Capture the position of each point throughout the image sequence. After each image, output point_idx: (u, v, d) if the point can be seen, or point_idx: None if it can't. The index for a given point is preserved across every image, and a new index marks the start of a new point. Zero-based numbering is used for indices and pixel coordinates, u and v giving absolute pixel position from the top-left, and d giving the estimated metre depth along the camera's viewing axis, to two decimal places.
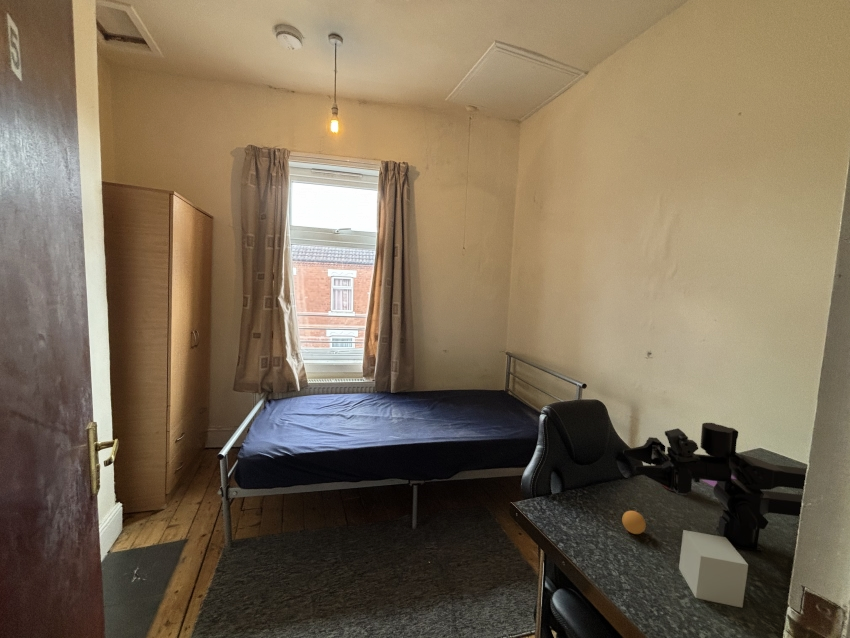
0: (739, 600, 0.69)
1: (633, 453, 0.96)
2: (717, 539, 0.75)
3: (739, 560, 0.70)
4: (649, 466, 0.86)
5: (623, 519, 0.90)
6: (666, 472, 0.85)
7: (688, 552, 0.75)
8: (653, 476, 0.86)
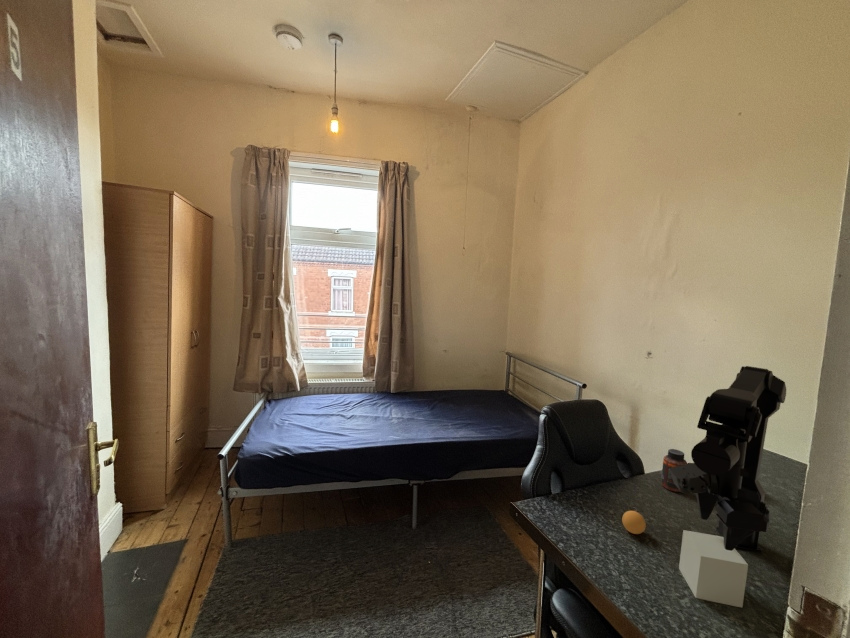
0: (739, 600, 0.69)
1: (706, 508, 0.77)
2: (717, 539, 0.75)
3: (739, 560, 0.70)
4: (725, 537, 0.68)
5: (623, 519, 0.90)
6: None
7: (688, 552, 0.75)
8: (740, 537, 0.67)
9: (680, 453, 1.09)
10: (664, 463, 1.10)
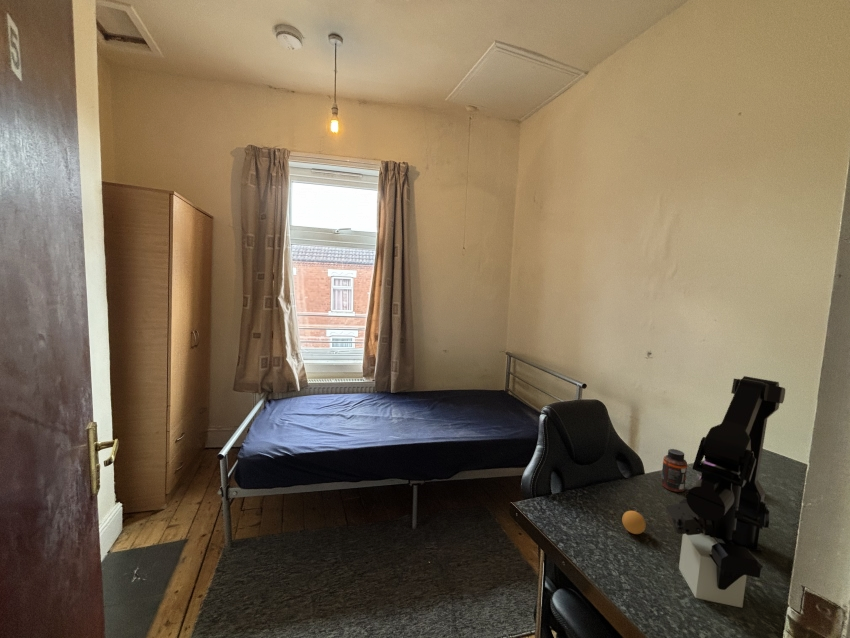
0: (739, 600, 0.69)
1: None
2: None
3: None
4: (718, 577, 0.69)
5: (623, 519, 0.90)
6: None
7: (688, 552, 0.75)
8: (733, 577, 0.68)
9: (680, 453, 1.09)
10: (664, 463, 1.10)
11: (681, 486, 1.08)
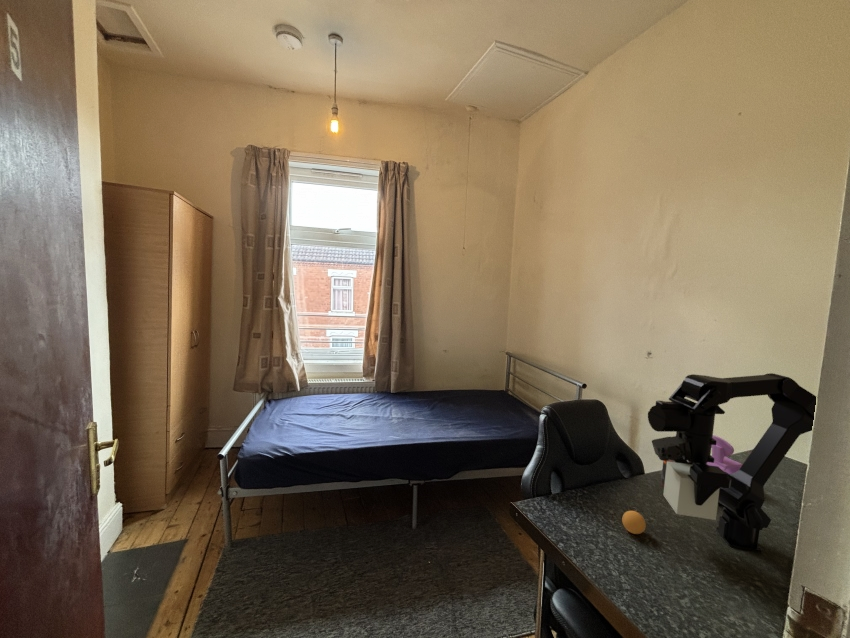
0: (713, 514, 0.82)
1: None
2: None
3: None
4: (696, 494, 0.81)
5: (623, 519, 0.90)
6: None
7: (670, 478, 0.87)
8: (708, 493, 0.80)
9: None
10: (664, 463, 1.10)
11: None
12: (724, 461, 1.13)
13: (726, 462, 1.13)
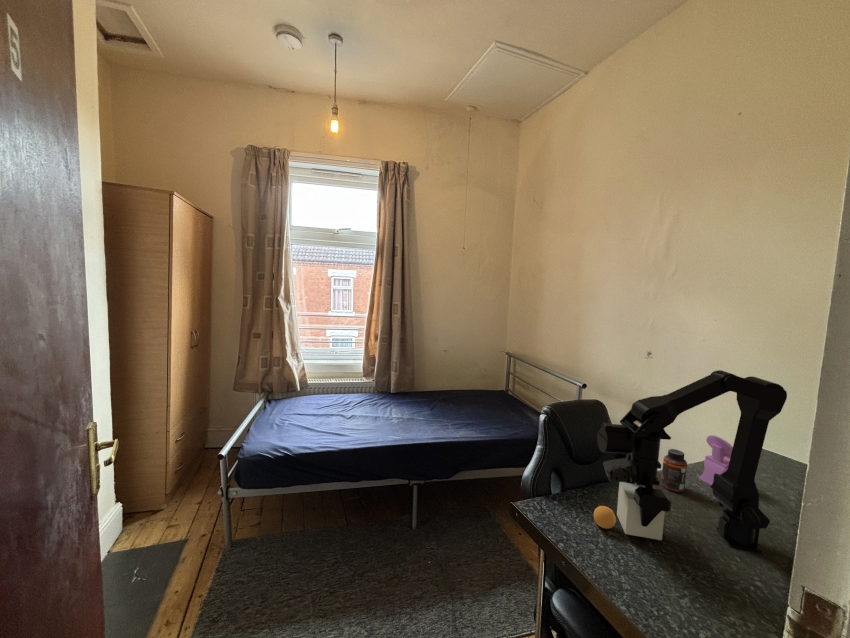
0: (659, 534, 0.85)
1: None
2: None
3: None
4: (641, 515, 0.85)
5: None
6: None
7: (621, 498, 0.91)
8: (652, 515, 0.84)
9: (680, 453, 1.09)
10: (664, 463, 1.10)
11: (681, 486, 1.08)
12: (724, 461, 1.13)
13: (726, 462, 1.13)
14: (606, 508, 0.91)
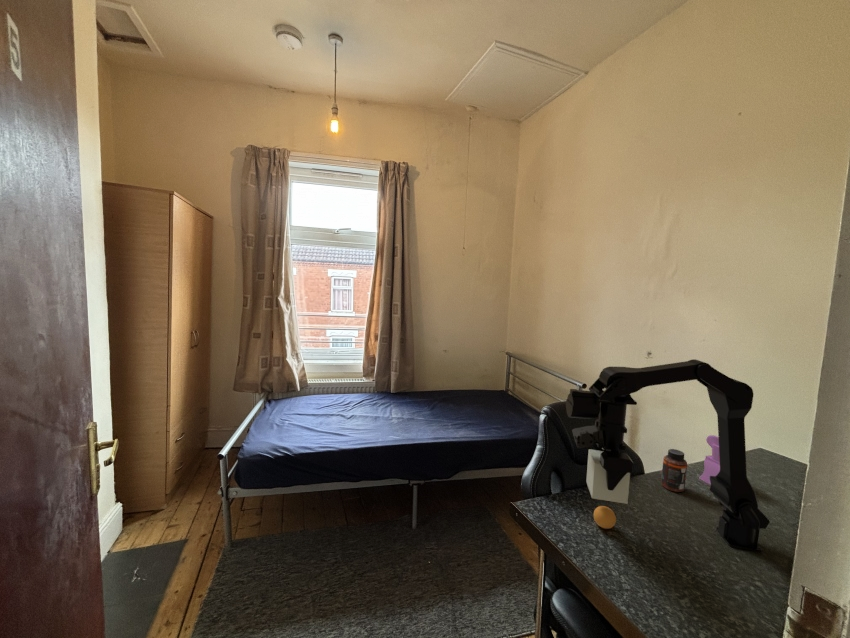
0: (625, 498, 0.86)
1: None
2: None
3: None
4: (607, 479, 0.86)
5: None
6: None
7: (590, 465, 0.92)
8: (617, 478, 0.85)
9: (680, 453, 1.09)
10: (664, 463, 1.10)
11: (681, 486, 1.08)
12: None
13: None
14: (606, 508, 0.91)
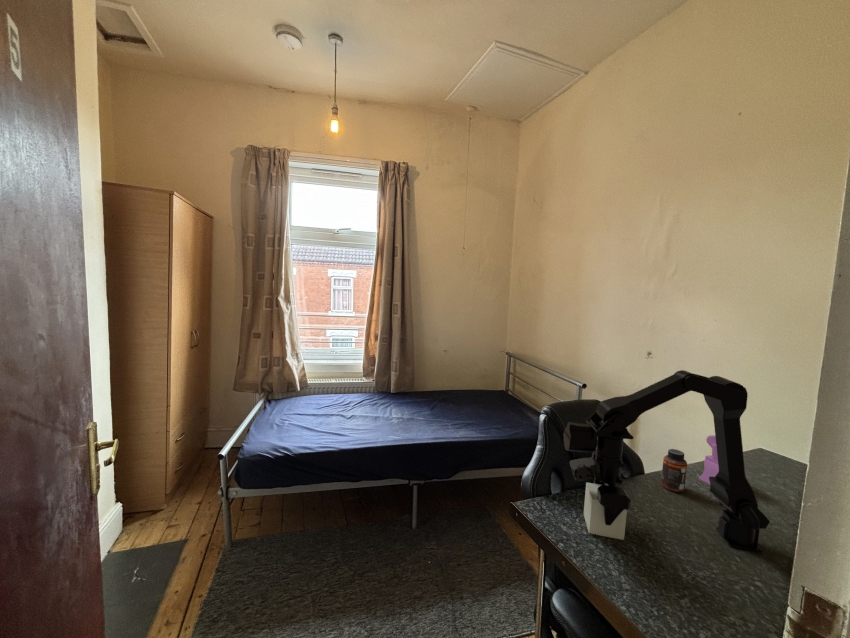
0: (621, 534, 0.87)
1: None
2: None
3: None
4: (604, 514, 0.86)
5: None
6: None
7: (587, 499, 0.93)
8: (614, 514, 0.85)
9: (680, 453, 1.09)
10: (664, 463, 1.10)
11: (681, 486, 1.08)
12: None
13: None
14: None
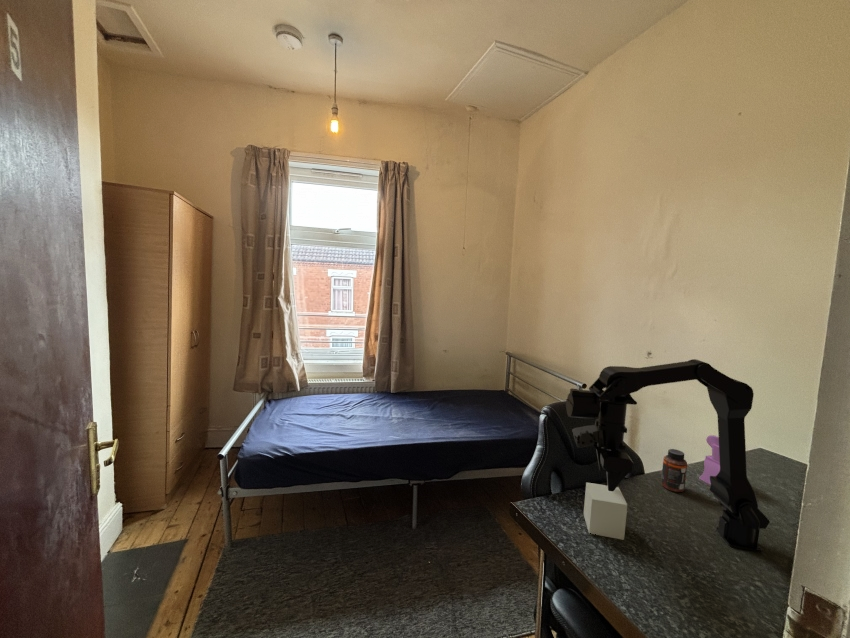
0: (621, 534, 0.87)
1: None
2: None
3: (621, 502, 0.87)
4: (607, 480, 0.85)
5: None
6: None
7: (587, 499, 0.93)
8: (618, 479, 0.84)
9: (680, 453, 1.09)
10: (664, 463, 1.10)
11: (681, 486, 1.08)
12: None
13: None
14: None
